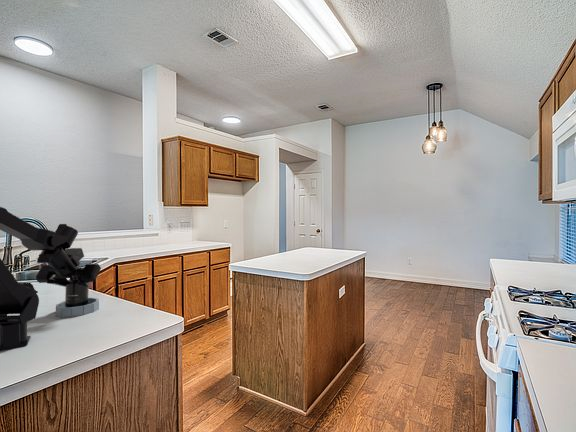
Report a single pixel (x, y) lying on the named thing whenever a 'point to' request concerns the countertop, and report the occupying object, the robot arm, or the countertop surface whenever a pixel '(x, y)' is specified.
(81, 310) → the bowl
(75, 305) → the supplement bottle
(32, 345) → the countertop surface
